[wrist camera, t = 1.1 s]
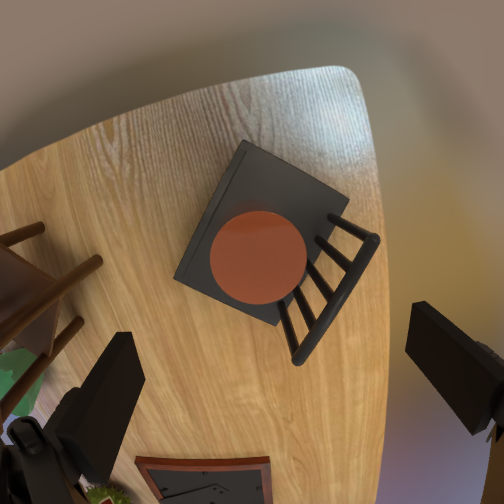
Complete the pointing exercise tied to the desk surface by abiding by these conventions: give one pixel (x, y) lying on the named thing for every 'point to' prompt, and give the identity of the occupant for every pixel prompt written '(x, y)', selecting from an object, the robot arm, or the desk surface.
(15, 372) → the mug
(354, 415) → the desk surface
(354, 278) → the slatted back chair
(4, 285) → the side table
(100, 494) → the chestnut
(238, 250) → the cylinder
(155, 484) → the picture frame
